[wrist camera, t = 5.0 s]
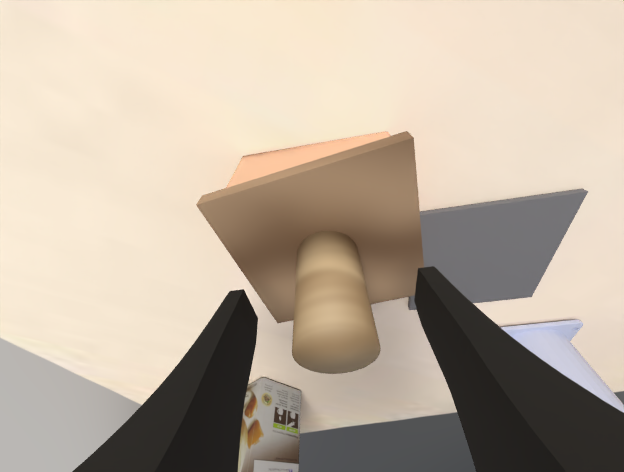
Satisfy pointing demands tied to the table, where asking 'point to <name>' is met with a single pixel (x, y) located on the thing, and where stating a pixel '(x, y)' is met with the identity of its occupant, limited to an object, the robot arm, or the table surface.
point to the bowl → (294, 157)
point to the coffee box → (270, 428)
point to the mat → (497, 243)
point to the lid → (328, 246)
